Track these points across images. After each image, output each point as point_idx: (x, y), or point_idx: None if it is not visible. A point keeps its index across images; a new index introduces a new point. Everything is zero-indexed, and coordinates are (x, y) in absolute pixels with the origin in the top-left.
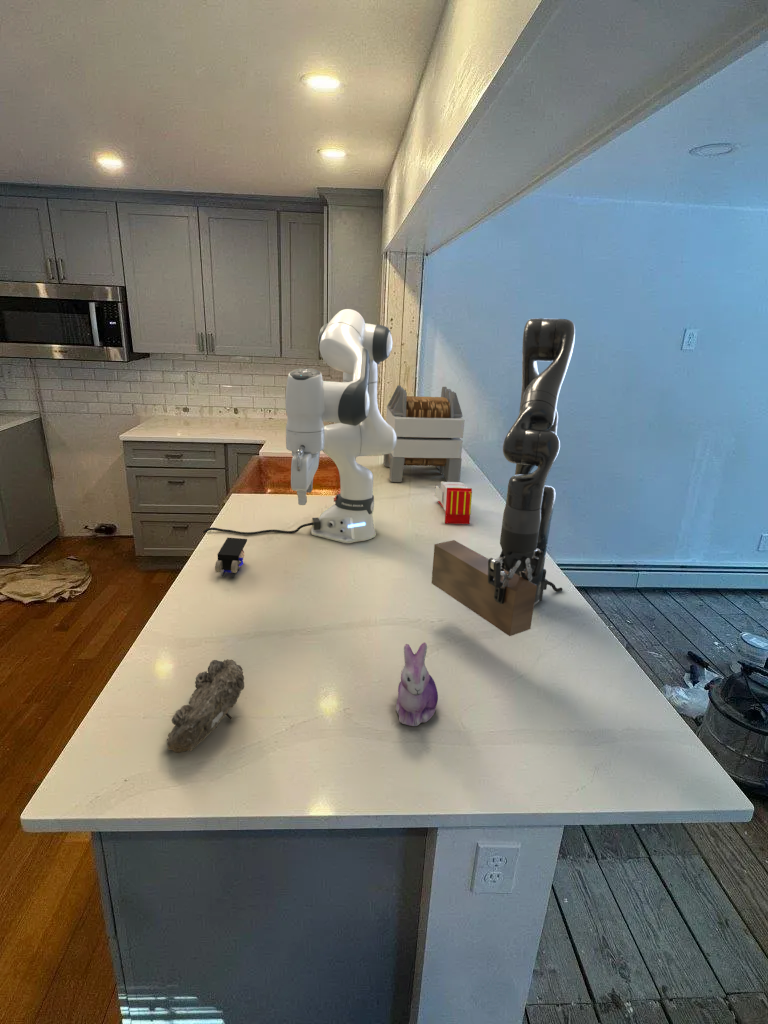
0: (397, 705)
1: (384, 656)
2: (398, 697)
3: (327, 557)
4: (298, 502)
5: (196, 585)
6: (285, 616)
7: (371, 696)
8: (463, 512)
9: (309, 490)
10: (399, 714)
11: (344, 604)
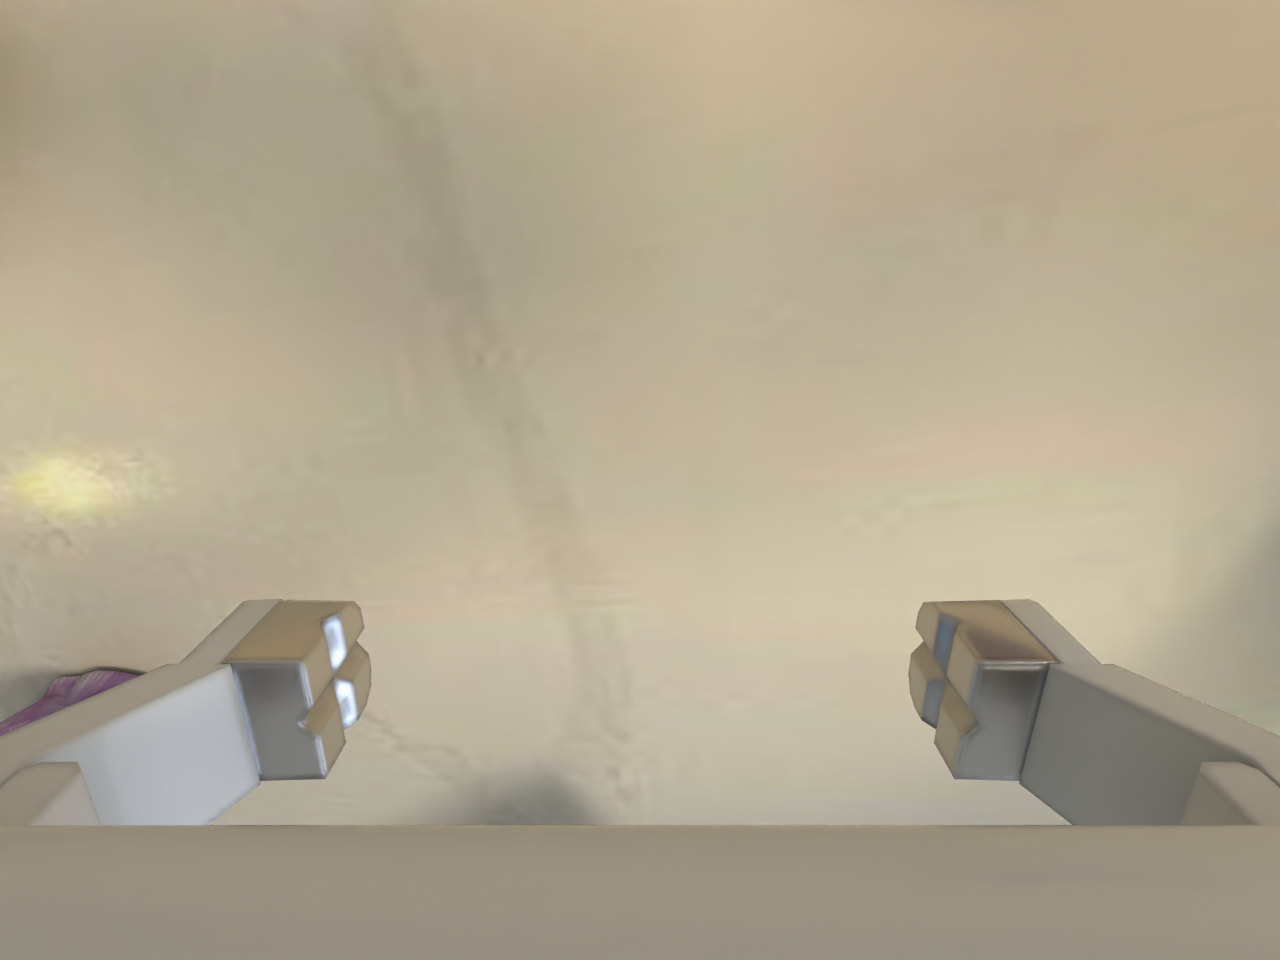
0: (91, 681)
1: (369, 634)
2: (15, 718)
3: (1234, 353)
4: (237, 613)
5: None
6: (589, 233)
7: (147, 603)
8: None
9: (921, 687)
10: (61, 684)
11: (718, 480)
